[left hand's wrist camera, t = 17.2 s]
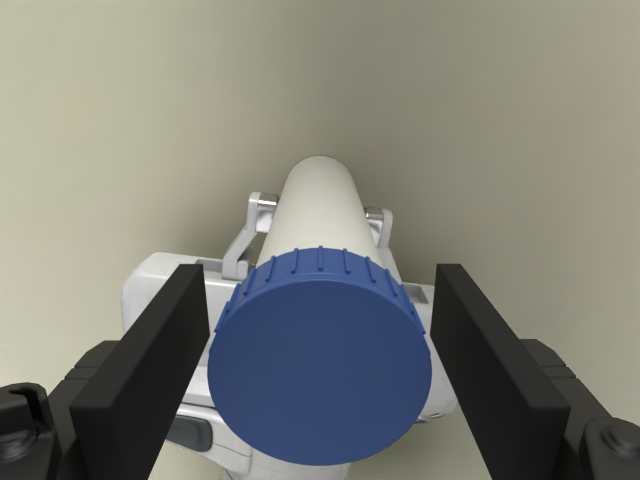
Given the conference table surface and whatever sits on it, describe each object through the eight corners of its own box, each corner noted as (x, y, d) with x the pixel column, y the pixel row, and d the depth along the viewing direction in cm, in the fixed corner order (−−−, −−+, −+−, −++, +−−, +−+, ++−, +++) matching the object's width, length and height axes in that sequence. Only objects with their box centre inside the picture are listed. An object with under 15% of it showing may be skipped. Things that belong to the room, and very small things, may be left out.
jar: (307, 235, 30) (288, 461, 12) (271, 177, 29) (189, 335, 11) (366, 203, 29) (442, 393, 11) (333, 142, 28) (358, 248, 10)
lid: (438, 384, 13) (459, 436, 11) (265, 433, 14) (256, 490, 12) (386, 216, 11) (399, 243, 9) (188, 281, 12) (163, 320, 10)
